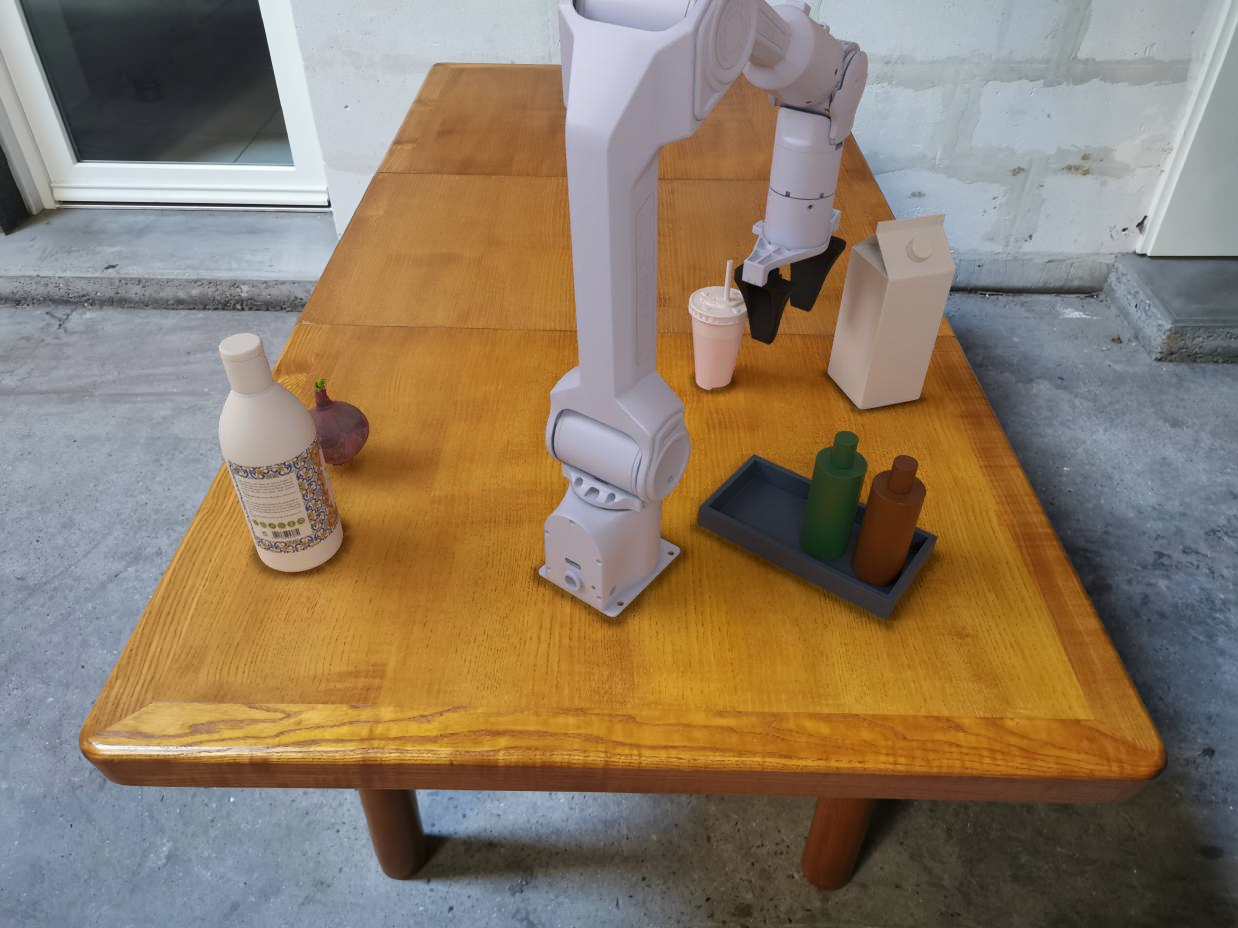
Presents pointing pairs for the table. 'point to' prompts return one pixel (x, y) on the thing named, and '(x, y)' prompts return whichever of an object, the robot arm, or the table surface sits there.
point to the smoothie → (717, 331)
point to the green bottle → (833, 498)
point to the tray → (799, 533)
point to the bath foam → (276, 463)
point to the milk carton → (891, 311)
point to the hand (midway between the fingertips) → (782, 323)
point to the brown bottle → (889, 523)
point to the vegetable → (338, 427)
